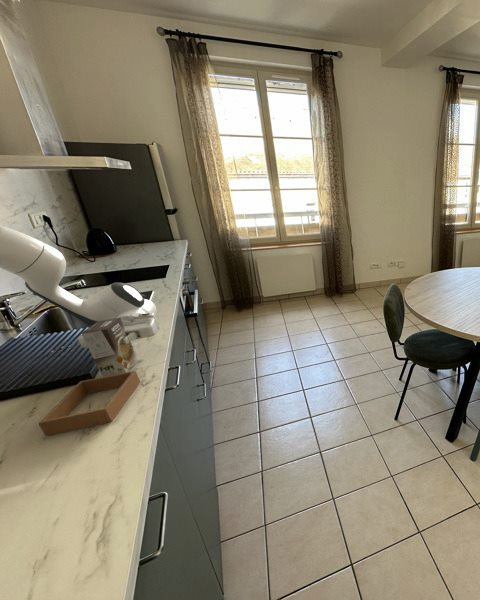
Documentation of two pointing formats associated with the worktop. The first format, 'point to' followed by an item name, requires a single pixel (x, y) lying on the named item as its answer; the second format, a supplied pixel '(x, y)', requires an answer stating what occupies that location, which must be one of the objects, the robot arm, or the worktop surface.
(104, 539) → the worktop surface
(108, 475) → the worktop surface
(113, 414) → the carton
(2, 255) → the robot arm
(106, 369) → the coffee box
